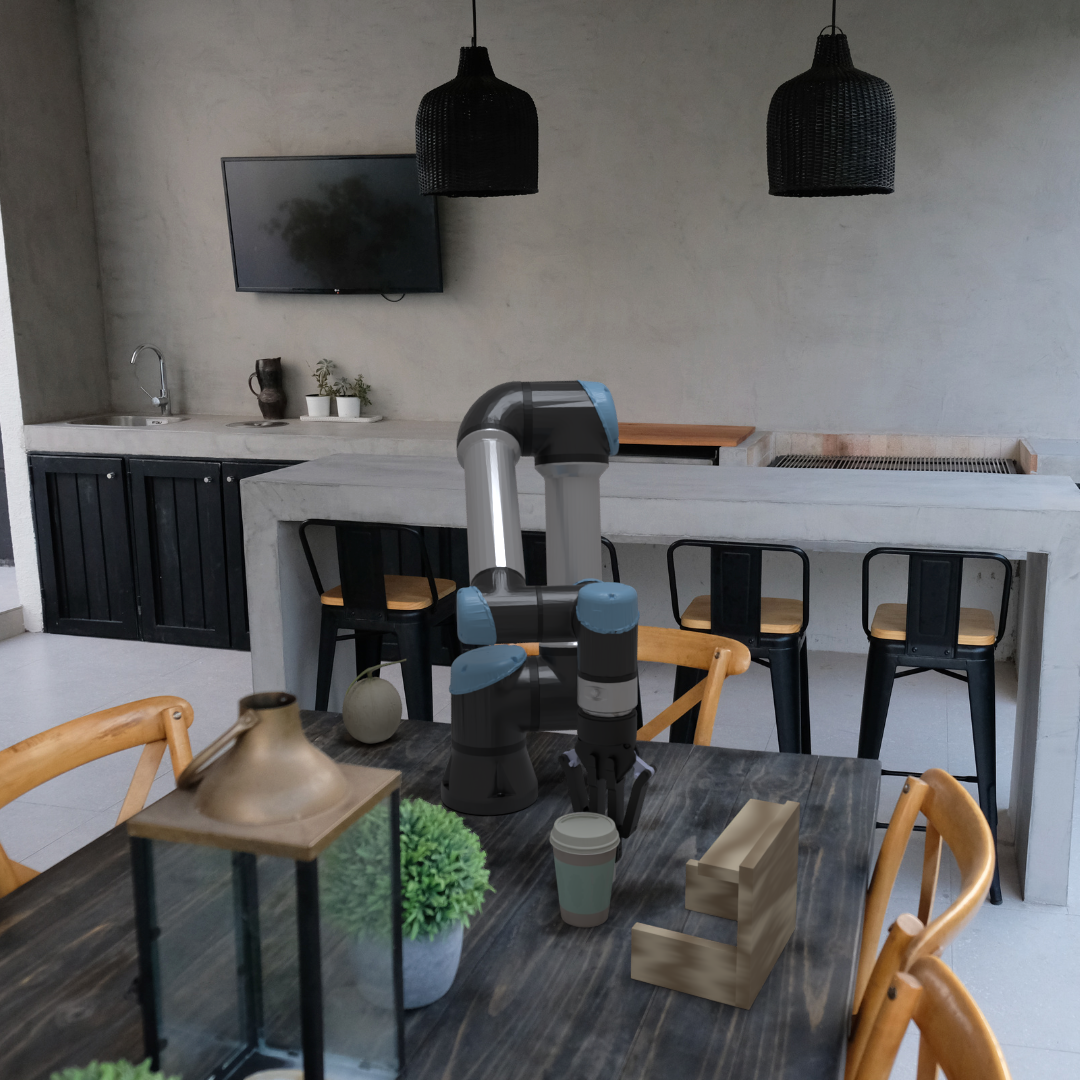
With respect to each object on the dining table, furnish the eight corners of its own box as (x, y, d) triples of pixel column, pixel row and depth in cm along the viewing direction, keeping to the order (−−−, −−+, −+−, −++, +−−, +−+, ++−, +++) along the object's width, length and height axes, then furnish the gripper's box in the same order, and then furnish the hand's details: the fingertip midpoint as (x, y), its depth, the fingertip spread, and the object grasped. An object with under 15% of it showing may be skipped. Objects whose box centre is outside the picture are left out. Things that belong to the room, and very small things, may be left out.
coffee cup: (625, 904, 142) (626, 814, 140) (610, 938, 134) (610, 843, 132) (560, 895, 144) (560, 806, 142) (541, 927, 136) (540, 834, 134)
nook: (630, 978, 125) (632, 843, 123) (689, 903, 142) (691, 783, 139) (749, 1010, 119) (753, 868, 116) (795, 928, 136) (800, 802, 133)
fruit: (327, 743, 199) (324, 662, 197) (376, 727, 208) (373, 648, 205) (366, 757, 193) (363, 673, 190) (415, 739, 201) (413, 658, 199)
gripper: (546, 708, 140) (547, 884, 145) (643, 724, 134) (641, 907, 139) (573, 691, 147) (573, 860, 151) (666, 706, 141) (664, 881, 145)
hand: (605, 882), depth 145 cm, fingers closed
